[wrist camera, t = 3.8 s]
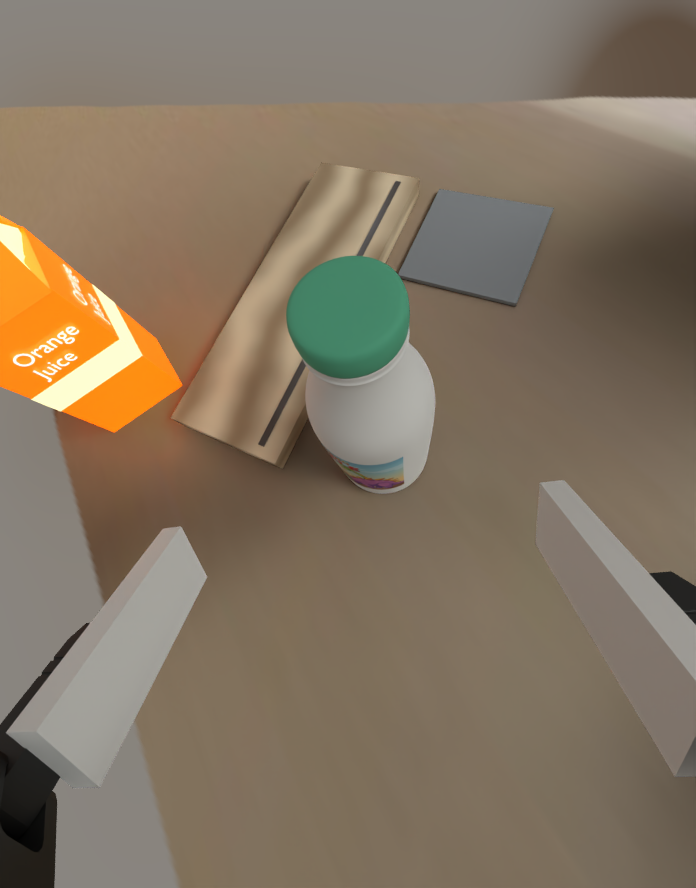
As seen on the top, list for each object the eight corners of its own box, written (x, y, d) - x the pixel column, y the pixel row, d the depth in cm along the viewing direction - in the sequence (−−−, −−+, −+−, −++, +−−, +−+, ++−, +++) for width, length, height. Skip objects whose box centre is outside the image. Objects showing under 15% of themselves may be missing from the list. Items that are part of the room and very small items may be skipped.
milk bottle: (382, 396, 33) (346, 188, 14) (446, 450, 30) (506, 284, 12) (323, 454, 32) (203, 316, 13) (384, 514, 30) (341, 448, 11)
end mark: (552, 211, 36) (553, 207, 35) (515, 306, 33) (516, 303, 33) (439, 192, 39) (439, 188, 39) (397, 277, 36) (397, 274, 36)
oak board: (418, 196, 39) (419, 177, 37) (282, 469, 32) (274, 463, 30) (325, 179, 42) (320, 161, 40) (183, 425, 36) (169, 417, 34)
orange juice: (91, 382, 39) (-202, 226, 20) (156, 337, 40) (-73, 143, 21) (114, 434, 37) (-197, 310, 18) (184, 386, 37) (-50, 214, 18)
